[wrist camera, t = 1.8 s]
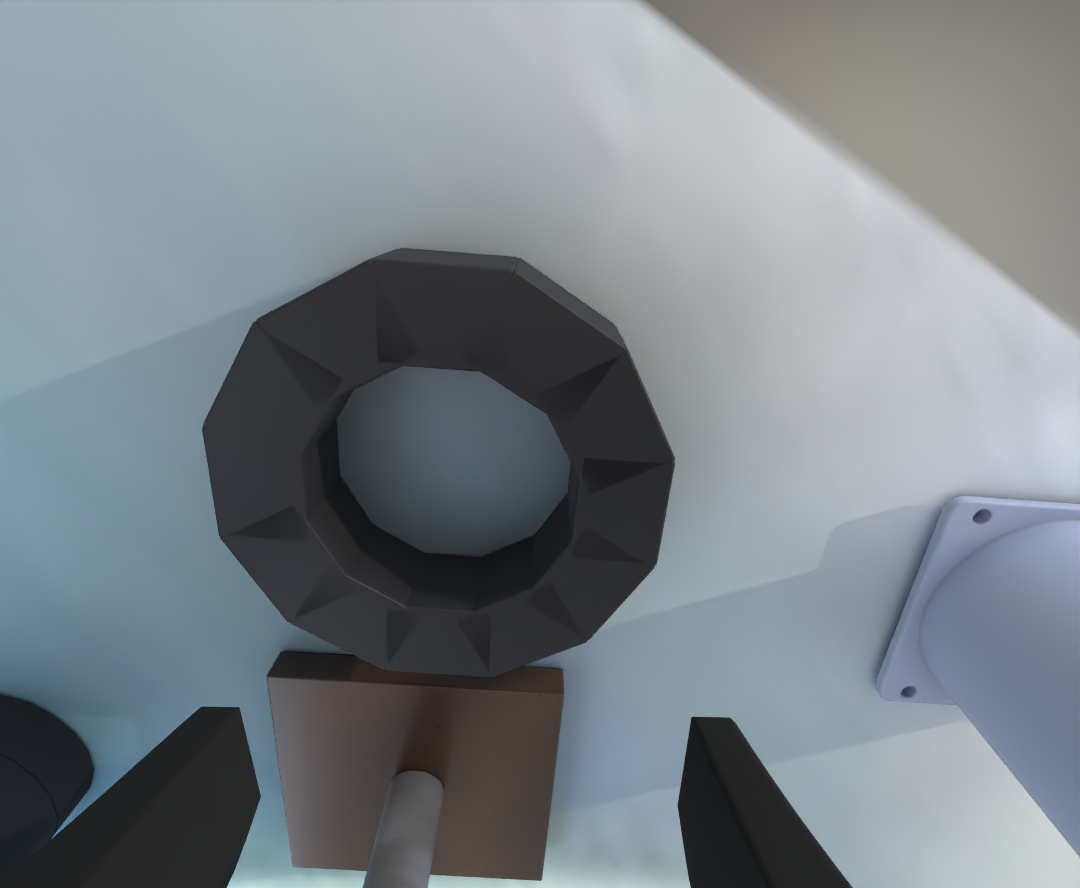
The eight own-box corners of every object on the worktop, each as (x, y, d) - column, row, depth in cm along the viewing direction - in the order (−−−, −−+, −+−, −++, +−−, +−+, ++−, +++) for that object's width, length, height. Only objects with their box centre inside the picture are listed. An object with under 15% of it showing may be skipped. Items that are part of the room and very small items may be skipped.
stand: (563, 668, 21) (570, 844, 15) (541, 851, 25) (541, 1045, 19) (280, 650, 21) (181, 822, 15) (303, 837, 25) (231, 1030, 19)
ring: (681, 269, 16) (708, 284, 13) (623, 624, 20) (635, 687, 18) (233, 234, 16) (171, 242, 13) (277, 602, 20) (238, 662, 18)
